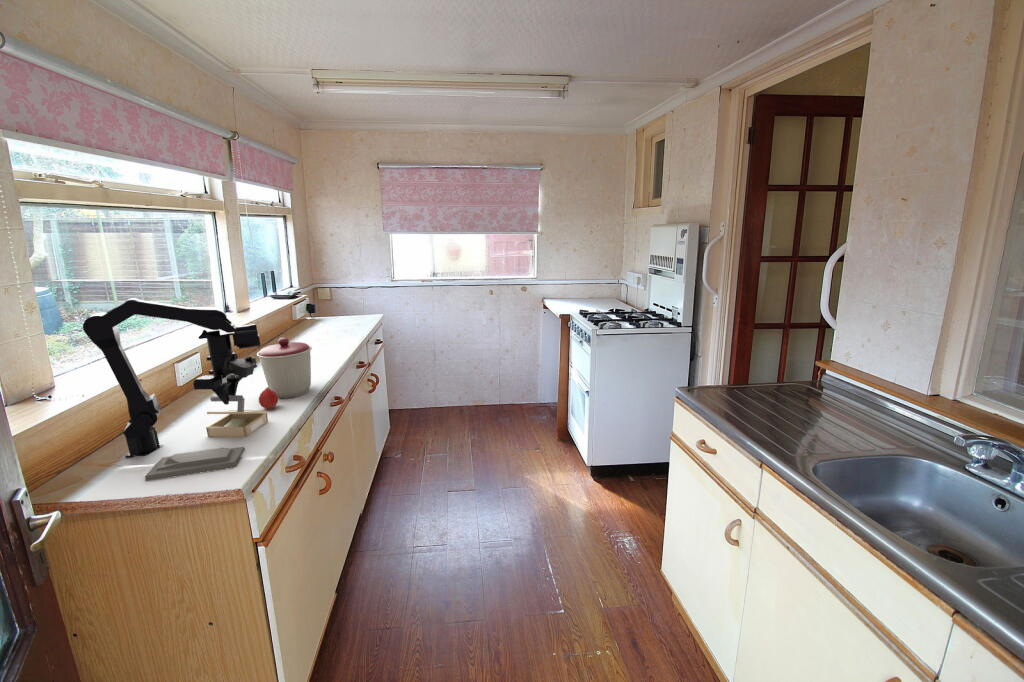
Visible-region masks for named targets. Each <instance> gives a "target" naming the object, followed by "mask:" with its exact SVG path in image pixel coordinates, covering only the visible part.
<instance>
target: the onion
mask: <svg viewBox="0 0 1024 682" xmlns="http://www.w3.org/2000/svg"><path fill="white" fill-rule="evenodd" d="M258 403H259V405H260V406H261V407H262V408H264V409H267V410H271V409H274V408H275V406H277V404H278V403H279V398H278V395H277V394H276V393H275V392H274V391H272V390H270V389H269V387H268V386H267V387H265V389H264V390H263V391H261V392H260V395H259V396H258Z"/></svg>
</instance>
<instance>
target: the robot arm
mask: <svg viewBox="0 0 1024 682" xmlns="http://www.w3.org/2000/svg"><path fill="white" fill-rule="evenodd" d="M135 315H136V316H144V317H149V318H158V319H163V320H165V319H166V320H171V321H172V320H174V321H180V322H187V323H190V324H192V325H195V326H199V327H201V328H203V329H202V331H201V332H200V334H198V339H199V340H204V339H206V342H207V348H208V353H209V354H208V356H206V361H210V364H211V370H208V374H209V375H202V376H200V377H197V378H195V379H194V380H193V381H192V386H193V390H211V391H213V393H215V394H216V395H217V396H218V397H219V398H220V399H221V401H220V402H222V404H224V405H225V406H226V405H229V404H230V402H234V401H229V395H237V392H238V391H237V389H238V386H239V382H240V381H241V380H242V379H244V378H247V377H249V376H252V375H253V374H254V371H255V369H256V368H258V365H257V359H256V357H255V356H252V355H250V356H248V357H246V358H239V357H238V356H239V355H238V354H237V352H233V346H234V347H236V348H238V350H242V349H251V348H257V347H258V348H259V347H261V340H260V335H259V332H258V328H257V324H256V323H249V324H248V325H246V324H244V325H237V326H236V325H235V324H234V322H232V321H231V320H230V319H228V316H227V314H226V311H224V310H223V309H222V308H220V307H218V306H196V307H189V306H184V305H183V306H182V305H175V304H169V303H163V302H157V301H149V300H144V299H139V298H136V297H131V298H128V299H127V300H125V301H124V302H122V303H120V304H118V305H117V306H116V307H113V308H112V309H110V310H108V311H106V312H103V311H102V312H96V313H94V314H93V313H92V315H90V316H89V317H88V318H87V319H85V320H84V322H83V324H82V329H83V332H84V333H85V335H86V336H87V338H89V340H90V341H91V342H92V343H93V344H94V345H95V346H96V347H97V348H98V349H99V350H100V351H101V352H102V353H103V356H104V357H105V360H106V361H107V363H108V365H109V367H110V369H111V371H112V373H113V375H114V377H115V380H116V381H117V383H118V384H119V387H120V388H121V389H120V390H121V391H122V393H123V394H124V397H125V399H126V403H127V409H128V414H129V418H130V419H129V420H128V421H127V423H126V426H125V428H124V430H123V431H122V432H123V433H122V434H123V435H124V436H125V440H126V445H127V447H128V453H125V454H124V457H125V458H134V457H147V456H148V455H150V454H152V453H154V452H156V451H157V450H159V449H161V448H162V447H164V446H165V445H164V444H160V441H159V438H158V437H159V436H158V433H157V431H156V427H155V426H154V425H155V424H156V423H157V421H158V419H159V416H160V411H161V406H162V405H161V404H160V403H159V402H158V399H157V395H156V393H152V394H151V395H149V394H148V393H147V392H146V391H145V390H144V388H143V386H142V383H141V382H140V379H139V378H138V376H137V374H136V372H135V370H134V368H133V366H132V363H131V362H130V360H129V358H128V356H127V354H126V351H125V349H124V348H123V345H122V344H121V337H120V330H119V326H118V325H120V324H122V323H123V322H126V320H128V319H129V318H131V317H133V316H135ZM207 329H209V330H207ZM221 331H223V332H221ZM231 336H232V341H233V346H232V341H231Z"/></svg>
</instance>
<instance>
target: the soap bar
mask: <svg viewBox="0 0 1024 682" xmlns="http://www.w3.org/2000/svg"><path fill="white" fill-rule="evenodd" d="M246 425H247V421H246V418H240V419H232V420H231V421H230V422H228V423H227V424H226V425H225V426H224V427H245V426H246Z"/></svg>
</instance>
